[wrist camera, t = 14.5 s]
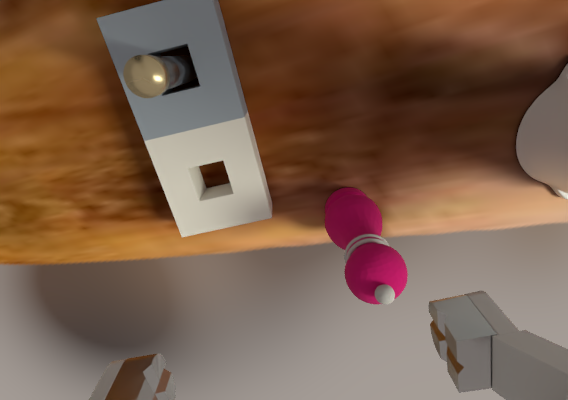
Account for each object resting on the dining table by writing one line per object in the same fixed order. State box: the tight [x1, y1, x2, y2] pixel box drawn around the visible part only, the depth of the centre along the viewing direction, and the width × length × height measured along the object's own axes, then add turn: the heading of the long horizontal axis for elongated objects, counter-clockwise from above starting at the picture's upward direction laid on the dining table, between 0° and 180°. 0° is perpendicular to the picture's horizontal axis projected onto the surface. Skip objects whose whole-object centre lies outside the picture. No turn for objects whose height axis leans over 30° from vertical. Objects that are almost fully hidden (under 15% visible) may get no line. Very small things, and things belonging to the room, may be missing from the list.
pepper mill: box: [325, 187, 407, 305], centre depth 40 cm, size 7×7×20 cm
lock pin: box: [123, 55, 197, 98], centre depth 36 cm, size 3×3×14 cm
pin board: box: [96, 0, 272, 237], centre depth 43 cm, size 12×26×4 cm, turn 13°
